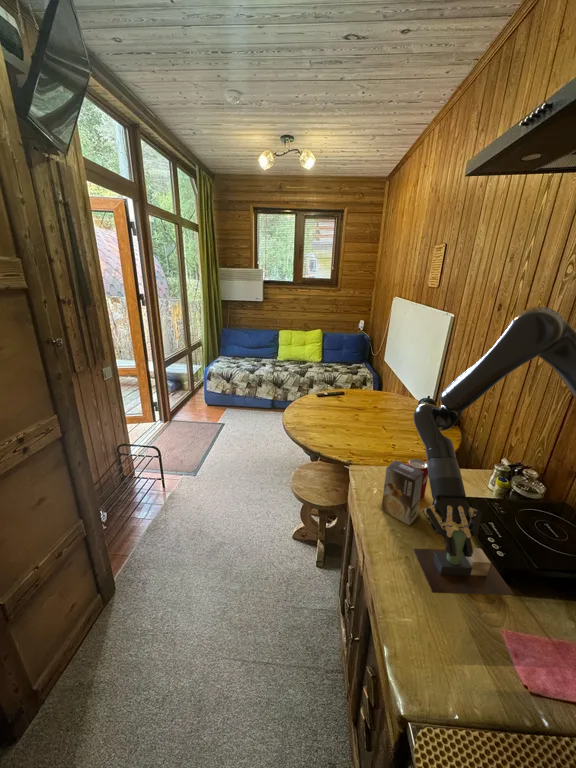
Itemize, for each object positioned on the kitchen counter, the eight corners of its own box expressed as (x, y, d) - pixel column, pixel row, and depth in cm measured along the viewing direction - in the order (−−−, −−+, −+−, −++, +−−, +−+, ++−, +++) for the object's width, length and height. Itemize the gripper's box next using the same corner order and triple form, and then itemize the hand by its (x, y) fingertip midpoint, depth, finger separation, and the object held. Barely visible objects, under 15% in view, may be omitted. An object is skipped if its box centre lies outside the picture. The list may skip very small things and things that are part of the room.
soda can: (417, 504, 97) (423, 472, 94) (398, 493, 102) (402, 462, 99) (427, 496, 101) (433, 464, 98) (409, 486, 106) (413, 455, 103)
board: (481, 554, 79) (482, 550, 79) (513, 599, 68) (514, 594, 67) (411, 552, 80) (412, 548, 79) (431, 597, 68) (432, 592, 68)
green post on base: (432, 560, 76) (440, 527, 73) (461, 561, 76) (469, 528, 72) (440, 574, 72) (448, 540, 69) (470, 576, 72) (479, 542, 69)
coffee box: (418, 518, 92) (426, 472, 87) (408, 529, 87) (416, 481, 82) (389, 503, 98) (395, 459, 93) (379, 513, 93) (385, 467, 89)
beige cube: (477, 561, 76) (480, 548, 74) (487, 575, 72) (490, 562, 71) (461, 560, 76) (464, 547, 75) (469, 575, 72) (473, 562, 71)
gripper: (423, 474, 75) (436, 555, 67) (481, 476, 74) (501, 558, 66) (412, 480, 81) (423, 554, 73) (465, 482, 81) (482, 556, 73)
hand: (460, 555), depth 70 cm, fingers closed on green post on base, 3 cm apart
